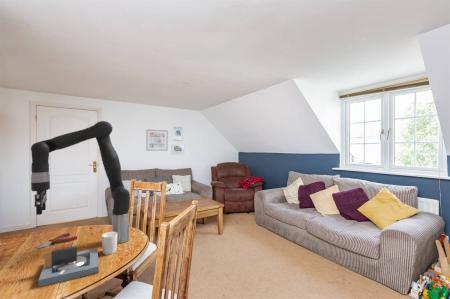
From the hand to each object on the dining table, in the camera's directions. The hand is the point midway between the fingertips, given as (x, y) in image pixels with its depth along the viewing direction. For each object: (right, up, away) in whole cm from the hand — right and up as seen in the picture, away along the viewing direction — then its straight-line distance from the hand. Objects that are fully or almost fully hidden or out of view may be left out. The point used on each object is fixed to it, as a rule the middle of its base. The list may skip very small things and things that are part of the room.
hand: (41, 212), depth 117 cm
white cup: (+30, -25, +10) cm, 41 cm away
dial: (+19, -24, -8) cm, 32 cm away
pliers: (-10, -25, +24) cm, 36 cm away
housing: (+21, -25, -7) cm, 33 cm away
